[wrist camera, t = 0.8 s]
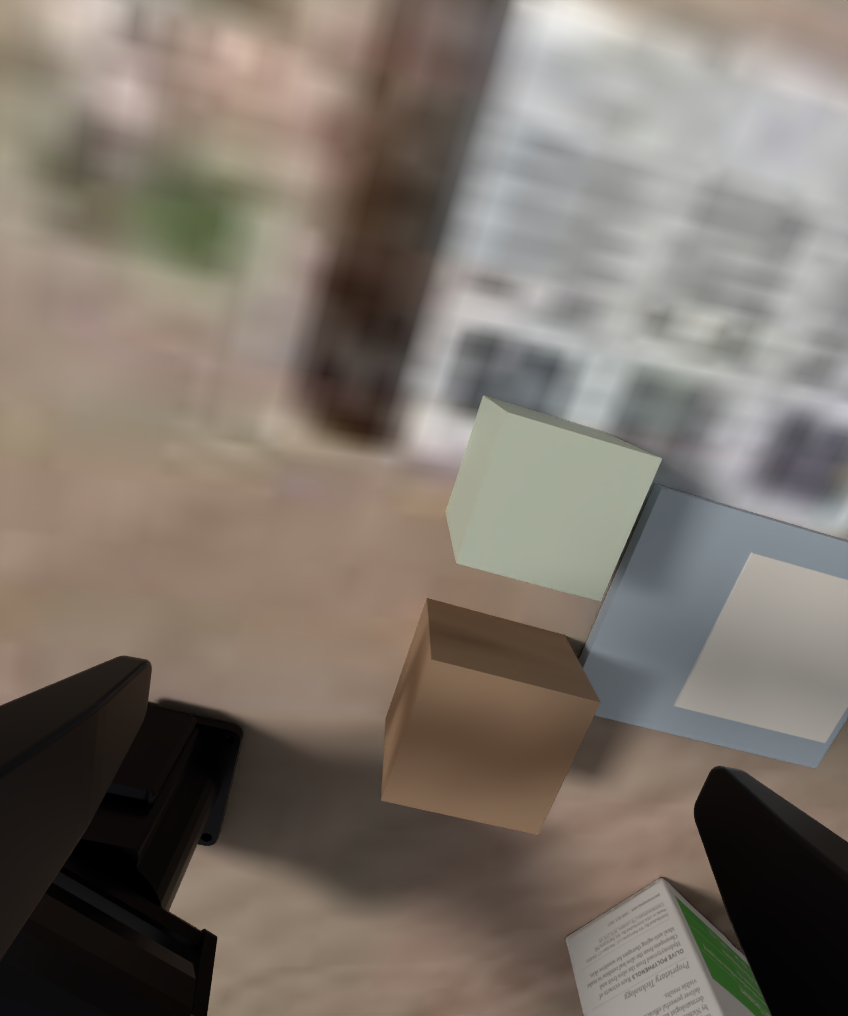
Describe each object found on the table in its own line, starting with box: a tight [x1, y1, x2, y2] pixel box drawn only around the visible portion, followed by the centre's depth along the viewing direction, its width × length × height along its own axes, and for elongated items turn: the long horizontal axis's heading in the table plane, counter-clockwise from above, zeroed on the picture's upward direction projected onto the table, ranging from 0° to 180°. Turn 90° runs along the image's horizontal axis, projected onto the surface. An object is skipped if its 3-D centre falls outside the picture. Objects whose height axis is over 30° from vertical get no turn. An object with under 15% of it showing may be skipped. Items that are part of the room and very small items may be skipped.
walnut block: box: [381, 598, 601, 835], centre depth 21 cm, size 6×6×4 cm
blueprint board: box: [578, 484, 848, 769], centre depth 22 cm, size 10×12×1 cm
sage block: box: [446, 395, 662, 602], centre depth 18 cm, size 5×5×5 cm
